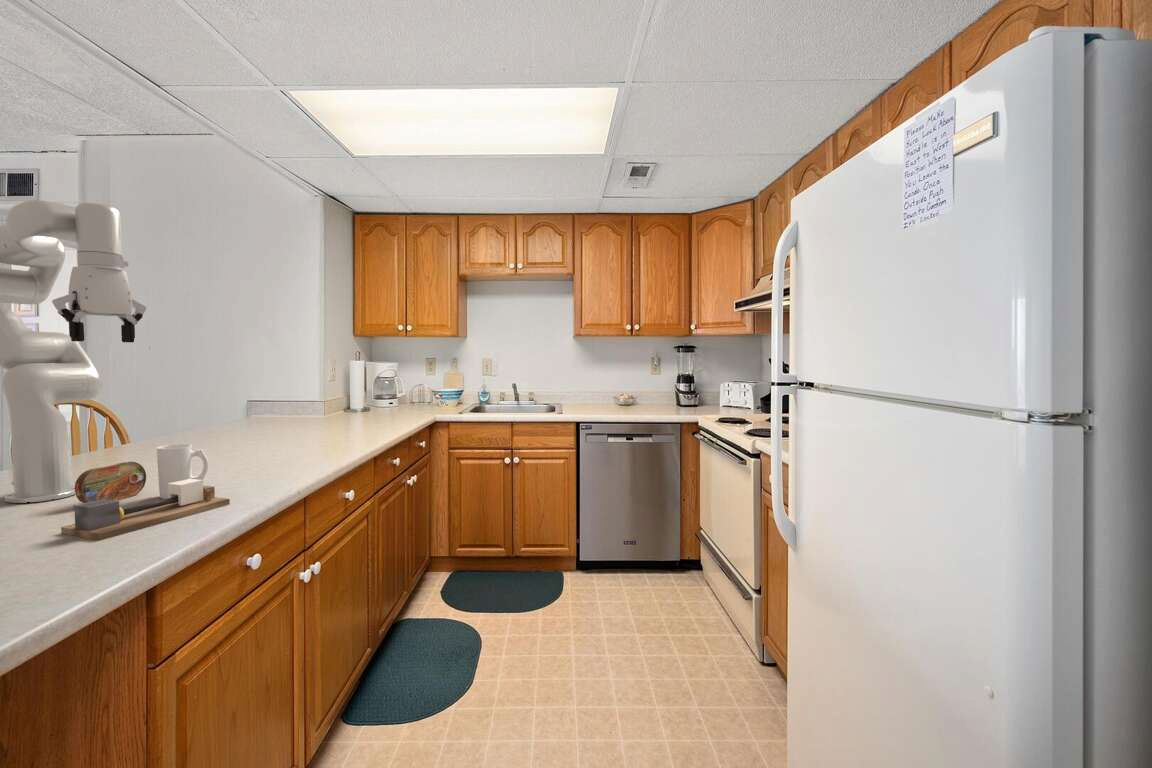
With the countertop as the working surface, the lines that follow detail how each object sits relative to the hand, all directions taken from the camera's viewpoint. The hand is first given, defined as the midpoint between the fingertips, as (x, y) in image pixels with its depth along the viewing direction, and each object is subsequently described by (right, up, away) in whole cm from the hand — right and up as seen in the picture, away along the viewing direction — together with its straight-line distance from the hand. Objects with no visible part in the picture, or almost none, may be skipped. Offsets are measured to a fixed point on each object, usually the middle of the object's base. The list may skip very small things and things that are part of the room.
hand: (103, 341), depth 121 cm
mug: (+9, -36, +13) cm, 39 cm away
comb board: (+15, -37, -5) cm, 41 cm away
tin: (-5, -37, +8) cm, 38 cm away
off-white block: (+17, -35, +1) cm, 39 cm away
